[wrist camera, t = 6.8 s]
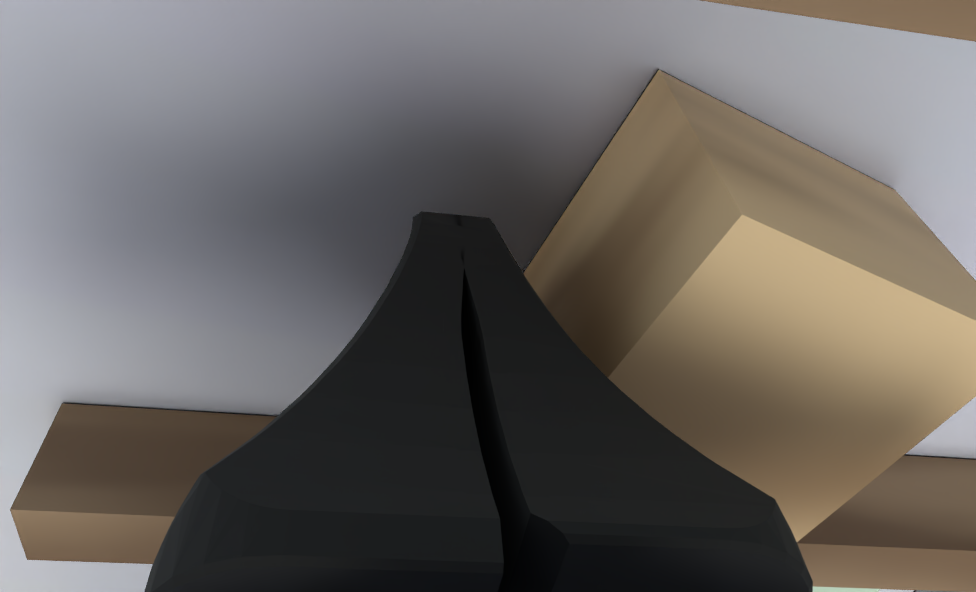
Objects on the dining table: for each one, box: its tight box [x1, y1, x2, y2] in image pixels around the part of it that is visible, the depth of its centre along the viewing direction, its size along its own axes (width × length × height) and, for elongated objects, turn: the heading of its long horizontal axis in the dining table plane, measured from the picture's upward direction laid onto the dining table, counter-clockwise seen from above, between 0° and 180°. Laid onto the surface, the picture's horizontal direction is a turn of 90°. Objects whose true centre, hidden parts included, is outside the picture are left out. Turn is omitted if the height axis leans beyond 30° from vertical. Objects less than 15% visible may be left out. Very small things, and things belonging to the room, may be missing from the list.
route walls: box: [10, 0, 976, 592], centre depth 14 cm, size 13×27×2 cm, turn 81°
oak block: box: [523, 70, 976, 542], centre depth 13 cm, size 7×5×4 cm
